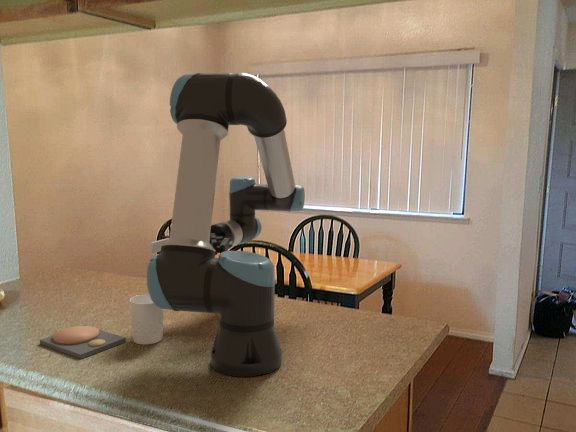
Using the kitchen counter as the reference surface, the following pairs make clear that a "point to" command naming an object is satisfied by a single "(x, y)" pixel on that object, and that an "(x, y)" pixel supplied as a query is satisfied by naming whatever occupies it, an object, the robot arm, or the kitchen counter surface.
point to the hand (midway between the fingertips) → (172, 251)
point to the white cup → (146, 320)
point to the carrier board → (82, 341)
